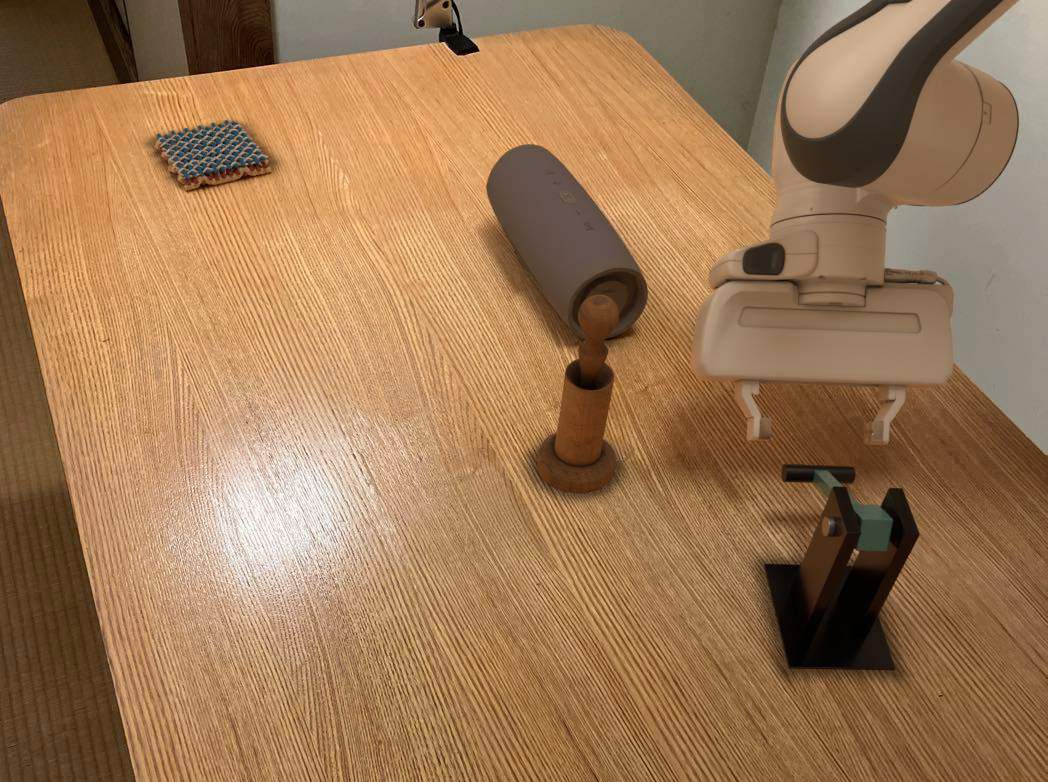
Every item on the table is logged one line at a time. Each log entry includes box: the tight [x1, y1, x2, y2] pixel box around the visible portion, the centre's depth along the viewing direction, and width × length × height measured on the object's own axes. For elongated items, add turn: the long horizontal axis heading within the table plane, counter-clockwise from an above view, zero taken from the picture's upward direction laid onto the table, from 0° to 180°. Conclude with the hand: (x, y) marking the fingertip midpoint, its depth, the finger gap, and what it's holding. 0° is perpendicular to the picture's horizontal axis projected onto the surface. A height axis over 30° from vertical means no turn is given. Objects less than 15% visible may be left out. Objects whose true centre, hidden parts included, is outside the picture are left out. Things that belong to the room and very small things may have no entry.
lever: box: [780, 463, 893, 552], centre depth 79 cm, size 13×6×2 cm, turn 1°
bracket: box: [763, 486, 921, 671], centre depth 78 cm, size 10×8×13 cm
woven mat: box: [154, 119, 273, 192], centre depth 121 cm, size 10×11×2 cm
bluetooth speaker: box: [486, 143, 649, 340], centre depth 107 cm, size 23×9×10 cm, turn 20°
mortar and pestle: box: [536, 295, 619, 494], centre depth 85 cm, size 7×6×18 cm
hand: (817, 442), depth 85 cm, fingers open, 8 cm apart
